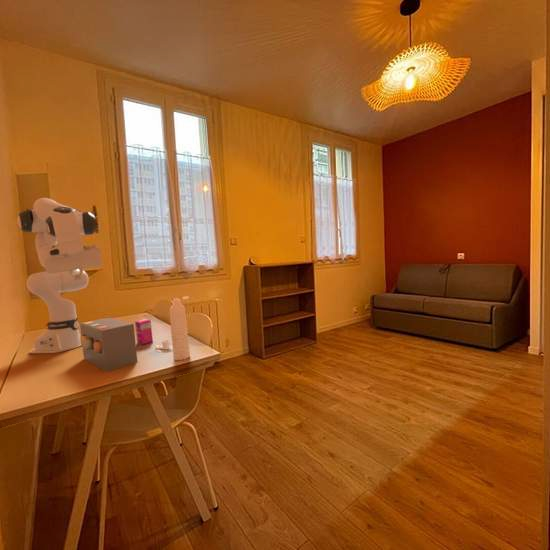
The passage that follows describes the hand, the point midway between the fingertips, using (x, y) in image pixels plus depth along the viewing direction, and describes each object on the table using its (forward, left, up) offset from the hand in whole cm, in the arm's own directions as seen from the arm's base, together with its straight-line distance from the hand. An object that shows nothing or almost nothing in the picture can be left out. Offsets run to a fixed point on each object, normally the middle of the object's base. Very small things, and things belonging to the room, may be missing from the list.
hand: (77, 279), depth 132 cm
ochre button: (+2, -2, -28) cm, 28 cm away
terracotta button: (+13, -14, -28) cm, 34 cm away
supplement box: (+18, +20, -35) cm, 44 cm away
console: (+12, -4, -35) cm, 37 cm away
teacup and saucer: (+32, +10, -36) cm, 49 cm away
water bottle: (+44, -7, -35) cm, 57 cm away
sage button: (+6, -9, -28) cm, 30 cm away
